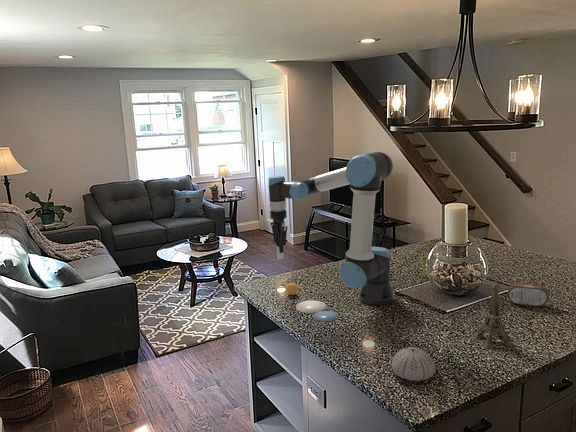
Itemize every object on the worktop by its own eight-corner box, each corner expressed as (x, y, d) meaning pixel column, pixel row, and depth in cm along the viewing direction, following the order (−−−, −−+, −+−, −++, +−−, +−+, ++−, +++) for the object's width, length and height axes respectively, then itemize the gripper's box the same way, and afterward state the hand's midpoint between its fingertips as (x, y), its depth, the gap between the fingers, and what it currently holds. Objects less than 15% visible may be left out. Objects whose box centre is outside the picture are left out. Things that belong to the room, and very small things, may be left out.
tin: (547, 305, 192) (549, 285, 190) (548, 308, 189) (549, 288, 187) (506, 301, 198) (507, 282, 196) (506, 304, 195) (507, 284, 193)
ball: (299, 293, 219) (299, 281, 218) (295, 297, 214) (295, 285, 213) (288, 292, 221) (287, 280, 220) (284, 296, 216) (283, 284, 215)
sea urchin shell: (386, 364, 154) (386, 341, 152) (427, 361, 155) (427, 338, 153) (397, 387, 141) (397, 362, 139) (442, 383, 142) (443, 358, 140)
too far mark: (341, 312, 195) (341, 312, 195) (334, 322, 186) (334, 322, 186) (317, 310, 199) (317, 309, 199) (310, 320, 189) (310, 319, 189)
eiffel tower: (471, 335, 170) (473, 268, 165) (500, 332, 171) (503, 266, 166) (486, 349, 160) (488, 278, 155) (516, 346, 161) (519, 276, 156)
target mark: (329, 302, 206) (329, 301, 206) (321, 314, 194) (321, 313, 194) (301, 299, 211) (301, 299, 211) (291, 311, 199) (291, 310, 199)
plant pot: (441, 279, 227) (441, 262, 225) (421, 279, 229) (421, 261, 227) (439, 272, 236) (439, 256, 234) (419, 272, 238) (419, 256, 236)
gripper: (264, 208, 222) (267, 256, 227) (277, 213, 210) (279, 263, 215) (278, 206, 225) (281, 254, 230) (292, 210, 214) (294, 260, 219)
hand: (280, 258), depth 223 cm, fingers closed
